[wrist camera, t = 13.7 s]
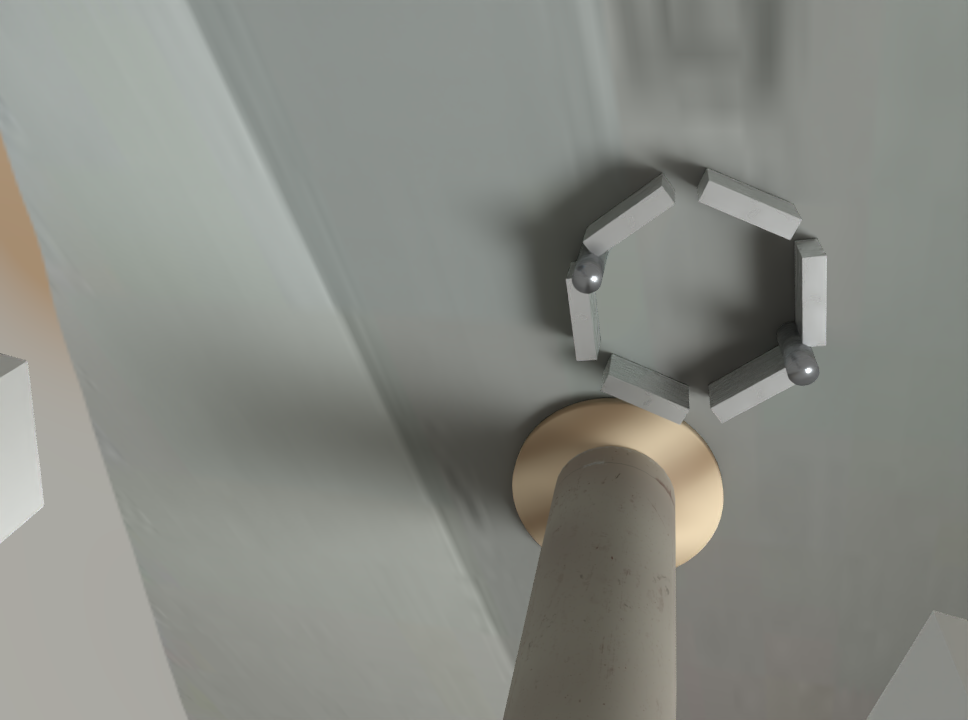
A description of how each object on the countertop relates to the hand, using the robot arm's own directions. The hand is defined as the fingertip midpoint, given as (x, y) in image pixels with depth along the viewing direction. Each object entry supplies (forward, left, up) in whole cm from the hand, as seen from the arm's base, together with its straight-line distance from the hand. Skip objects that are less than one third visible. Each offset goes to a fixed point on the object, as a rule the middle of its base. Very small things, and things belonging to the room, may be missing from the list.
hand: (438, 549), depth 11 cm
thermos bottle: (+20, -14, -36) cm, 43 cm away
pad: (+20, -14, -37) cm, 44 cm away
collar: (+11, -2, -37) cm, 38 cm away
